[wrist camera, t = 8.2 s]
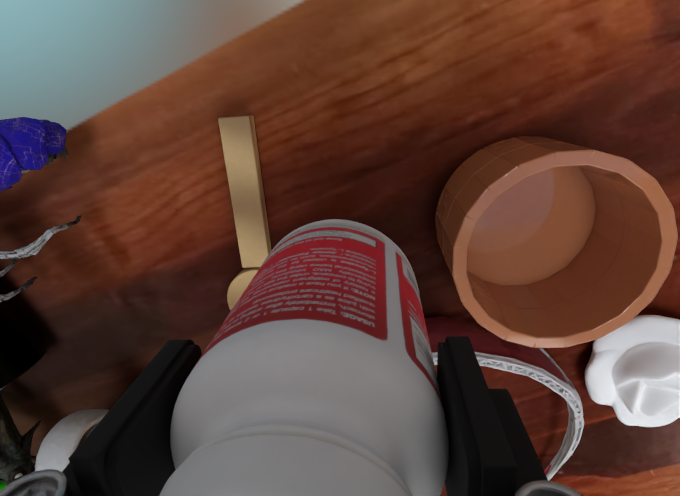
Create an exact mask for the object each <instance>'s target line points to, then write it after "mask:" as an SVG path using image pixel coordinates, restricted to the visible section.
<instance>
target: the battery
mask: <svg viewBox="0 0 680 496" xmlns="http://www.w3.org/2000/svg"><path fill="white" fill-rule="evenodd" d="M0 295H1V294H0ZM45 353H46V349H45V348H44V347H43V345H42V344H41V343H40V342H39V340H38V339H37V338H36V337H35V335H34V334H33V333H32V332H31V330H30V329H29V328H28V327H27V326H26V324H25V323H24V322H23V321H22V319H21V318H20V317H19V316H18V315H17V313H16V312H15V311H14V310H13V308H12V307H11V306H10V305H9V304H8V302H7V301H6V300H5V301H2V302H0V390H1V389H3V388H4V387H6V386H7V385H9V384H10V383H11V382H13V381H14V380H16V379H17V378H18V377H19V376H21V375H22V374H23V373H24V372H26V371H27V370H28V369H30V368H31V367H32V366H33V365H35V364H36V363H37V362H38V361H39V360H40V359H41V358H42V357H43V356H44V355H45Z"/></svg>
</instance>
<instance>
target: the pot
mask: <svg viewBox="0 0 680 496" xmlns="http://www.w3.org/2000/svg"><path fill="white" fill-rule="evenodd" d="M435 228H436V236H437V237H436V238H437V241H438V244H439V246H440V249H441V252H442V255H443V258H444V261H445V263H446V266H447V268H448V270H449V273H450V275H451V278H452V280H453V283H454V285H455V288H456V290H457V293H458V295H459V298H460V300H461V302H462V304H463V305H464V307H465V308H466V309H467V310H468V312H469V313H470V314H471V315H472V316H473V318H474V319H475V320H476V321H477V323H478V324H480V325H481V326H482V327H484V328H485V329H487V330H489V331H490V332H492V333H493V334H495V335H497V336H498V337H500V338H501V339H503V340H506V341H509V342H513V343H517V344H521V345H524V346H528V347H532V348H533V347H534V348H565V347H570V346H574V345H578V344H582V343H586V342H589V341H593V340H597V338H598V339H600V338H602V337H604V336H605V335H607V334H609V333H611V332H613V331H615V330H616V329H618V328H620V327H622V326H624V325H625V324H627V323H628V322H630V321H631V320H632V319H633V318H634V317H635V316H636V315H637V314H638V313H640V312H641V311H642V310H643V309H644V308H645V307H646V306H647V305H648V304H649V303H650V302H651V301H652V300H653V299H654V298H655V296H656V294H657V293H658V291H659V289H660V288H661V286H662V284H663V283H664V281H665V279H666V278H667V276H668V274H669V273H670V270H671V267H672V262H673V258H674V254H675V249H676V245H677V238H678V234H677V228H676V221H675V214H674V208H673V207H672V204H671V203H670V201H669V199H668V198H667V196H666V194H665V193H664V191H663V190H662V188H661V186H660V185H659V183H658V181H657V180H655V178H654V177H653V176H651V175H650V174H649V173H647V172H646V171H644V170H643V169H642V168H640V167H639V166H637V165H636V164H635V163H633V162H632V161H631V160H628V159H627V158H623V157H619V156H616V155H612V154H608V153H605V152H601V151H597V150H593V149H589V148H585V147H581V146H578V145H574V144H570V143H566V142H562V141H558V140H554V139H550V138H546V137H540V136H538V137H537V136H521V137H513V138H509V139H505V140H501V141H498V142H495V143H493V144H490V145H488V146H486V147H484V148H482V149H481V150H479V151H477V152H476V153H474V154H473V155H472V156H470V157H469V158H468V159H467V160H465V161H464V162H463V163H462V164H461V165H460V166H459V167H458V168H457V169H456V171H455V172H454V173H453V174H452V176H451V177H450V178H449V180H448V181H447V183H446V185H445V187H444V189H443V191H442V193H441V196H440V198H439V201H438V205H437V210H436V218H435Z"/></svg>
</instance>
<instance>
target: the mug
mask: <svg viewBox="0 0 680 496" xmlns="http://www.w3.org/2000/svg"><path fill="white" fill-rule="evenodd" d="M108 411H109V410H107V409H86V410H81V411H77V412H74V413H72V414H70V415H68V416H67V417H65V418H63V419H62V420H60V421H59V422H58V423H57V424H56V425H55V426H54V427H53V428H52V429H51V430H50V431H49V433H48V434H47V435H46V437H45V438H44V440H43V442H42V444H41V446H40V449H39V452H38V454H37V457H36V465H35V472H36V471H40V470H46V469H54V470H59V471H61V472H62V471H63V470H64V469H65V468H66V466H67V465H68V464H69V463H70V462H69V459H68V458H69V457H70V456H71V455H72V454H73V452H74V451H75V450H76V449H77V447H78V444H79V442H80V440H81V438H82V437H83V435H84V433H85V432H86V431H87V430H88V429H89V428H90V427H91V426H92V425H94V426H95V427H96V425H97V424H98V423H99V422H100V421H101V419H102V418H103V417H104V416H105V415H106V414H107V412H108ZM95 427H94V428H95ZM94 428H93V429H94ZM93 429H92V430H93ZM92 430H91V431H92ZM91 431H90V432H91ZM89 434H90V433H89ZM89 434H88V435H89ZM88 435H87V436H88Z"/></svg>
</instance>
